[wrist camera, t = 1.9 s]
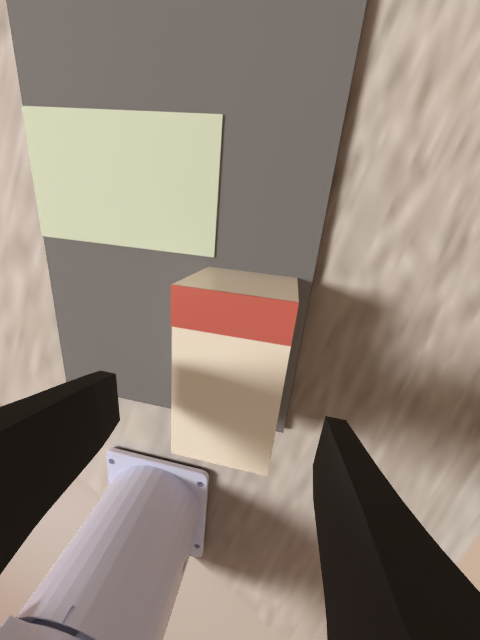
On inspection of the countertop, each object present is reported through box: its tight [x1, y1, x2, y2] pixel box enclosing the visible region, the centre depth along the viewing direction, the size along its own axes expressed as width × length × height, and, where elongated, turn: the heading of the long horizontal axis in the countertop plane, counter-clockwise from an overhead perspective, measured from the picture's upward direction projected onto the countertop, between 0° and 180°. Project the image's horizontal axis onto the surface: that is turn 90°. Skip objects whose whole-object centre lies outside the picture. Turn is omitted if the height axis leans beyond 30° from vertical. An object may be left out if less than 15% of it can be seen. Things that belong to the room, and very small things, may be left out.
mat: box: [6, 0, 367, 433], centre depth 14 cm, size 20×15×1 cm
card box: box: [171, 267, 299, 476], centre depth 13 cm, size 8×4×5 cm, turn 174°
